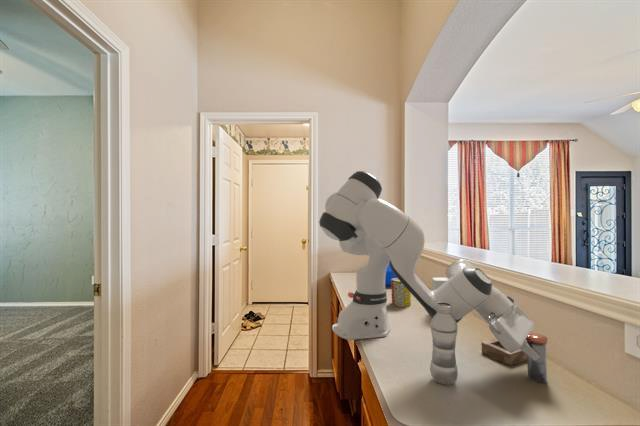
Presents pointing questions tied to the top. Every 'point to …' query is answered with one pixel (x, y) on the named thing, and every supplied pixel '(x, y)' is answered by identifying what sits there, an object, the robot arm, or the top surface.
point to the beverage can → (400, 294)
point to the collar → (502, 352)
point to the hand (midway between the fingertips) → (539, 354)
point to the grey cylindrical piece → (537, 367)
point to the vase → (389, 276)
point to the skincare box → (438, 282)
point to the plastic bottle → (443, 345)
